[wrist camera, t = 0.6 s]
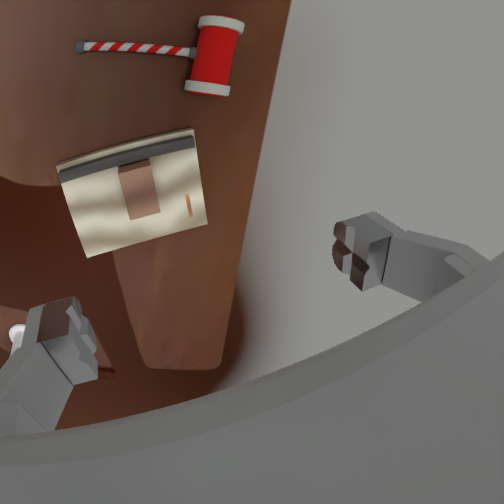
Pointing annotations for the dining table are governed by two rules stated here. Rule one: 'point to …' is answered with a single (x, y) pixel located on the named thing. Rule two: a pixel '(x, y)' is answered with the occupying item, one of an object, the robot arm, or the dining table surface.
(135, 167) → the brown cardboard brick
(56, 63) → the dining table surface
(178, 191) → the board
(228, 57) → the toy hammer
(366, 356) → the robot arm
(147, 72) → the dining table surface
